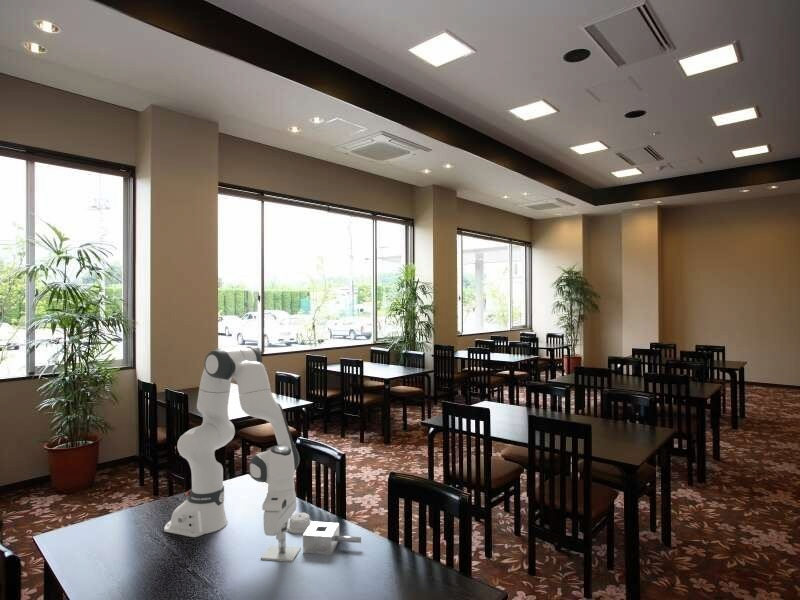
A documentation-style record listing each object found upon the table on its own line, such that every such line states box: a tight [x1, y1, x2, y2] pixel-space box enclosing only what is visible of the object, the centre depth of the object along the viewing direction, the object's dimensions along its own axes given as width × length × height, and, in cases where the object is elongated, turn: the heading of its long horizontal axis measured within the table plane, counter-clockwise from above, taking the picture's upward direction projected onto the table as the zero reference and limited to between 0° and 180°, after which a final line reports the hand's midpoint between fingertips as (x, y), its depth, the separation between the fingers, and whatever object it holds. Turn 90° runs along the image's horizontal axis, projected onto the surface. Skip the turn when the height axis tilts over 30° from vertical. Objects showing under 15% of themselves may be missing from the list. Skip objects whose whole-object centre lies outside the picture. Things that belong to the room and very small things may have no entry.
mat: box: [260, 544, 302, 563], centre depth 160 cm, size 11×8×1 cm
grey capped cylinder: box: [277, 524, 287, 554], centre depth 160 cm, size 3×3×9 cm
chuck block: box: [302, 520, 362, 555], centre depth 164 cm, size 19×10×6 cm, turn 82°
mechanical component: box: [287, 512, 313, 534], centre depth 179 cm, size 10×4×10 cm
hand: (281, 535), depth 160 cm, fingers closed on grey capped cylinder, 2 cm apart
